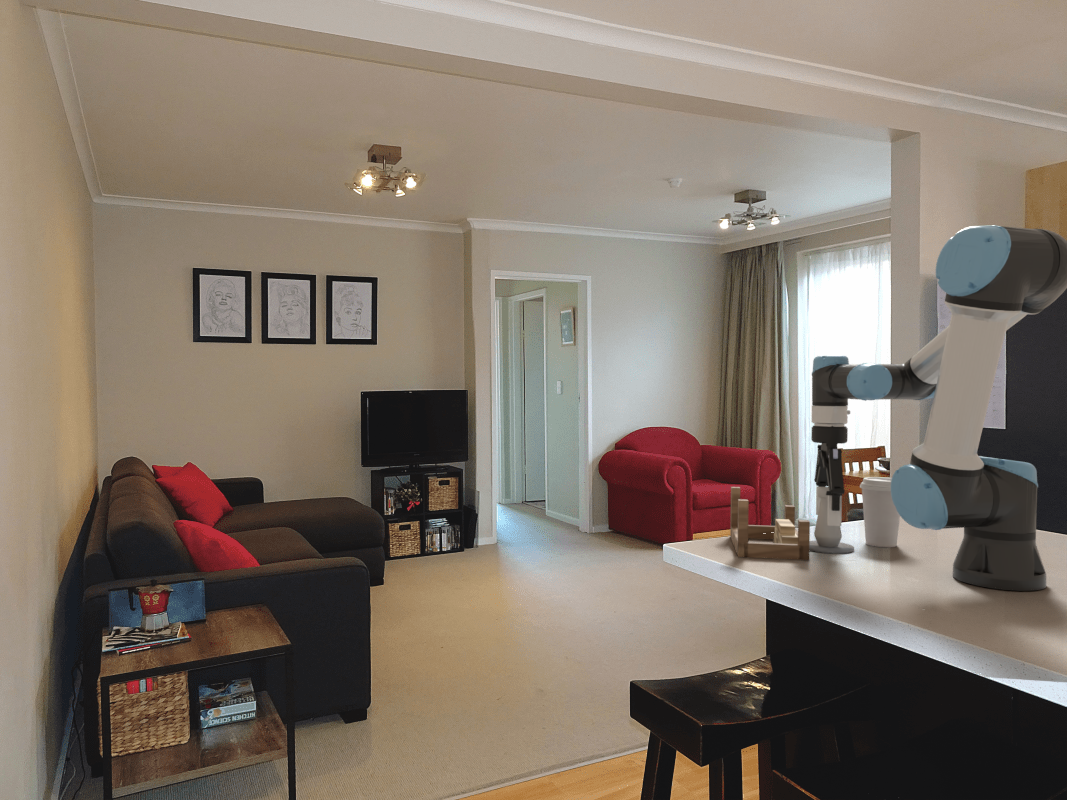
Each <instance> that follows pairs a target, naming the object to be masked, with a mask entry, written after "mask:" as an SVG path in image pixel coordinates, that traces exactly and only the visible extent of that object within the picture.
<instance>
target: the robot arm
mask: <svg viewBox="0 0 1067 800" xmlns="http://www.w3.org/2000/svg"><path fill="white" fill-rule="evenodd" d="M935 265H936V266H935V278H936V279H937V280H938V281H937V284H938V286H939V289H941V290H942V291H943V292H944V293H945V297H944V301H943V302H944V304H945V306H946V307H947V308H948V309H949V310H950V313H951V316H950V320H949V321H950V322H949V324H948V326H947V327H945V328H944V329H942V331H940V332H939V333H937V335H935V337H934V338H933V339H931V340H930V341H929V342H928V343H927V344H926V345H924V346H923V347H922V348H921V349H920V350H918V351H917V352H916V353H915V354H914V355H913V356H911V357H910V358H909V359H907V360H906V361H905V362H904V363H900V364H899V363H898V364H897V363H896V364H895V363H894V364H893V363H890V364H889V363H888V364H887V363H874V362H873V363H872V362H863V363H851V364H850V361H849V357H847V355H817V356H815V357H814V358H813V360H812V372H811V376H812V377H811V423H812V424H813V425H812V427H811V442H813V443H816V444H817V455H816V462H815V463H816V464H815V465H816V466H815V472H814V480H813V481H814V483H815V486H816V488H815V489H816V492H815V493H816V494H815V496H816V497H815V515H816V516H818V512H819V506H820V500H821V498H820V497H818V489H819V488H821V487H828V488H829V491H827V492H826V495H828V518H827V525H828V526H840V527H842V511H843V510H842V509H843V508H842V505H843V503H842V502H843V500H842V499H843V495H844V494H845V492H846V491H845V484H844V471H843V462H842V460H843V459H842V452H843V451H842V449H841V448H838V444H846V443H847V442H848V434H849V433H848V430H849V429H848V427H847V426H846V425H847V424H848V415H850V414H851V410H848V406H849V400H861V401H865V402H866V401H875V400H876V401H877V400H878V401H879V400H908V401H909V400H913V401H922V400H929V399H933V400H932V402H931V403H932V404H931V408H930V412H929V417H928V421H927V427H926V431H925V435H924V441H923V442H922V443H921V444H919V445H917V446H916V447H914V448H913V449H912V452H911V458H910V461H909V463H908V464H904V465H902V466H900V467H899V468H898V469H896V470H895V471H894V472H893V475H892V477H891V478H892V480H891V497H892V500H893V504H894V505H895V507H896V510H897V512H898V513H899V515H900V518H901V519H902V520H903V521H904V522H905V523H907V524H908V525H909V526H910V527H911V526H912V527H914V528H916V529H921V530H933V531H934V530H935V531H940V530H944V529H945V530H946V529H947V530H948V529H960V528H963V538H962V541H961V542H960V546H959V547H958V550H957V553H956V555H955V559H954V561H953V563H952V577H953V578H954V579H956V580H957V581H960V582H963V583H967V584H969V585H973V586H978V587H982V588H988V589H995V590H1004V591H1015V592H1016V591H1018V592H1019V591H1020V592H1021V591H1022V592H1028V591H1029V592H1031V591H1039V590H1043V589H1045V588H1046V587H1047V572H1046V570H1045V566H1044V563H1043V561H1042V558H1041V555H1040V553H1039V549H1038V546H1037V541H1036V540H1037V516H1038V515H1037V513H1038V512H1037V509H1038V488H1039V483H1038V476H1037V475H1038V474H1037V473H1038V471H1037V468H1036V467H1035V465H1034V464H1032V463H1030V462H1027V461H1026V462H1025V461H1019V460H1012V459H1002V458H997V457H996V458H995V457H987V456H982V455H978V449H979V446H980V441H981V438H982V437H981V436H982V432H983V428H984V425H985V420H986V416H987V411H988V408H989V403H990V399H991V395H992V390H993V386H994V383H995V377H996V374H997V369H998V365H999V361H1000V358H1001V357H1000V356H1001V353H1002V348H1003V344H1004V341H1005V336H1006V332H1007V331H1008V330H1009V329H1010V328H1013V326H1014V325H1015V324H1017V323H1019V322H1020V321H1021V320H1022V319H1024V318H1025V317H1026V316H1027V315H1037V314H1039V313H1041V312H1043V311H1044V309H1046V308H1048V307H1049V306H1050V305H1051V304H1052V303H1054V302H1055V301H1056V300H1057V299H1058V298H1059V297H1060V296H1061V295H1062V294H1063V293H1065V291H1066V290H1067V239H1066V238H1064V236H1062V235H1061V234H1059V233H1056V232H1055V231H1051V230H1049V229H1044V228H1026V227H1017V226H1016V227H1013V226H1001V225H996V224H993V225H992V224H991V225H972V226H968V227H964V228H963V229H961V230H959V231H957V232H956V233H955V235H953V236H951V237H950V238H949V239H948V240H947V241H946V242H945V244H944V245H943V247H942V248H941V251H940V252H939V255H938V257H937V261H936V264H935Z"/></svg>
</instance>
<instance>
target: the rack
mask: <svg viewBox="0 0 1067 800" xmlns="http://www.w3.org/2000/svg"><path fill="white" fill-rule="evenodd" d="M795 513H796V507H795V505H791V504H789V505H787V504H785V505H784V519H789V520H790V521H791V522H792V524H793V525H794V526H795V525H796V524H795V522H796V521H795V520H796V518H795V517H796V514H795ZM810 523H811V522H810V521H809V520H806V519H798V520H797V529H796V528H795V534H796V535H797V536H798V544H780V543H774V542H755V541H754V542H753V541H752V542H751V541H749V539H750V540H751V539H755V540H774V533H775V525H759V524H756V525H755V524H749V500H748V499H745V498H743V499H742V498H741V486H730V533H729V534H730V536H729V537H730V539H731V543H732V545H733V547H734V549H735V552H736V555H737V558H749V559H754V558H755V559H756V558H757V559H773V560H775V559H776V560H797V561H798V560H799V561H800V560H801V561H810V551H809V541H811V539H810V537H811V536H810V535H811V534H810V532H811V529H810V526H811V524H810ZM795 527H796V526H795ZM771 532H774V533H771ZM763 533H766V534H763Z"/></svg>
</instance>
